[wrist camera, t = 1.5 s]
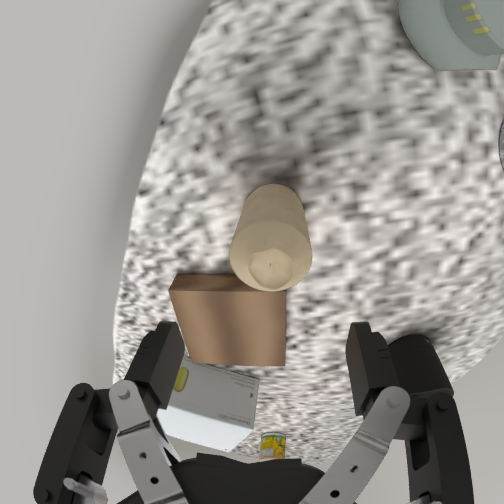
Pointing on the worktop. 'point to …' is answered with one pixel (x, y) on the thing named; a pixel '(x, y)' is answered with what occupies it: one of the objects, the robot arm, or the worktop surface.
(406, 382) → the pen holder
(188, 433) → the supplement box
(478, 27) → the air freshener
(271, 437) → the supplement bottle
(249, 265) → the candle
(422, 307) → the worktop surface
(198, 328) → the walnut pedestal
